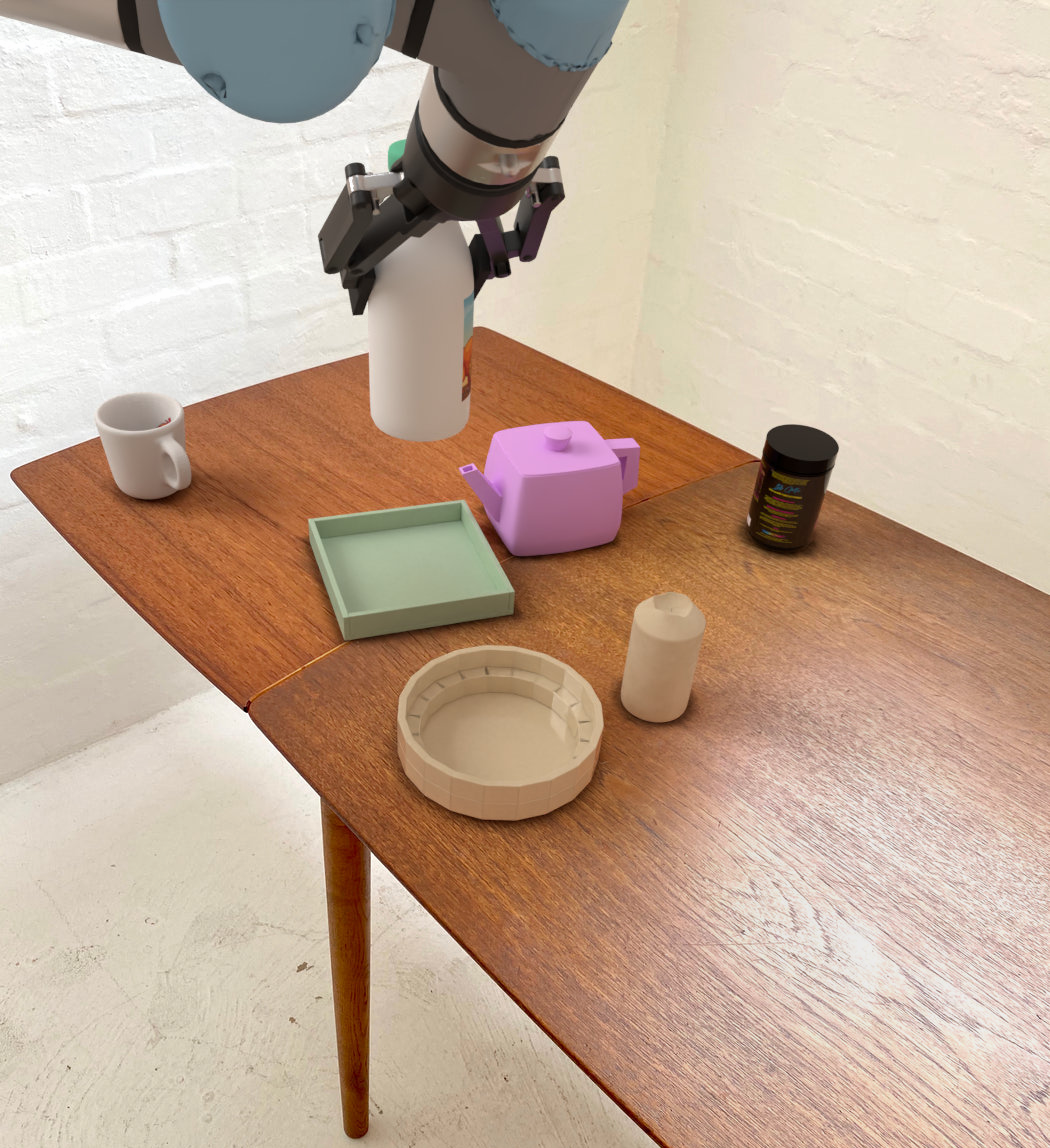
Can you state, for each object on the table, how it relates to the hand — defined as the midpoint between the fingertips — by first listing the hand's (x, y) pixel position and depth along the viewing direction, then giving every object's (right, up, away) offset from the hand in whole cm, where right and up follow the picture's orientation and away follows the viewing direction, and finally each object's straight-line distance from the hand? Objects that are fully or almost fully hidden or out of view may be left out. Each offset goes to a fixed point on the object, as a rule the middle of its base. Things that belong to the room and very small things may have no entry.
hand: (409, 293), depth 83 cm
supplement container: (+34, -15, +26) cm, 45 cm away
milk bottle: (0, -9, +4) cm, 10 cm away
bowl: (+7, -34, +2) cm, 35 cm away
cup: (-27, -11, +24) cm, 38 cm away
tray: (-2, -19, +17) cm, 26 cm away
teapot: (+11, -14, +25) cm, 30 cm away
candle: (+19, -31, +7) cm, 37 cm away
